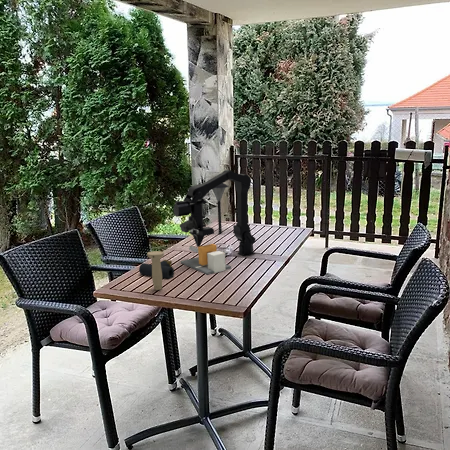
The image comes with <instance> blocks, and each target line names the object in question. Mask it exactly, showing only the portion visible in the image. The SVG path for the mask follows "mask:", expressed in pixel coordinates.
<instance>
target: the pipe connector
mask: <svg viewBox="0 0 450 450" xmlns="http://www.w3.org/2000/svg"><path fill="white" fill-rule="evenodd" d="M160 262H161V270H162V279H172V278H173V277H174V275H175V268H174V267H173V265H172V264H173V261H172V260H167V259H163V260H160ZM138 271H139V274H140V275H144V276H149V277H152V263H144V262H143V263H141V264H140V266H139V267H138Z"/></svg>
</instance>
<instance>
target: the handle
mask: <svg viewBox="0 0 450 450" xmlns="http://www.w3.org/2000/svg"><path fill="white" fill-rule="evenodd" d="M146 255H147V258H150V259H151V264H152V276H151V278H152V284H153V290H156V291H161V290H162V289H163V278H162V270H161V258H163V257H164V255H165V253H164V251H160V250H159V251H157V250H155V251H154V250H153V251H147V254H146Z"/></svg>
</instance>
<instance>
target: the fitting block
mask: <svg viewBox="0 0 450 450" xmlns="http://www.w3.org/2000/svg"><path fill="white" fill-rule="evenodd" d="M207 257H208V269H211V270H213V271H214V273H213V274H217V273H220V272H223V271H226V268H225V264H226V253H225V252H224V251H220V250H217V251H215V252H211V253H207Z"/></svg>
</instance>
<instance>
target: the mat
mask: <svg viewBox="0 0 450 450" xmlns="http://www.w3.org/2000/svg"><path fill="white" fill-rule="evenodd" d="M180 264H182V265H184V266H186V267H189V268H191V269H193V270H196V271H198V272H199V273H200V272H201V273H203V274H205V275H212V274H215V273H214V271H213V270H211V269H208V264H206V265H201V264H199V256H198V257H194V258H189V259H185V260H181V261H180ZM225 268H226V270H230V269H232V265H229V264H226V263H225ZM226 270H225V271H226Z"/></svg>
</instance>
